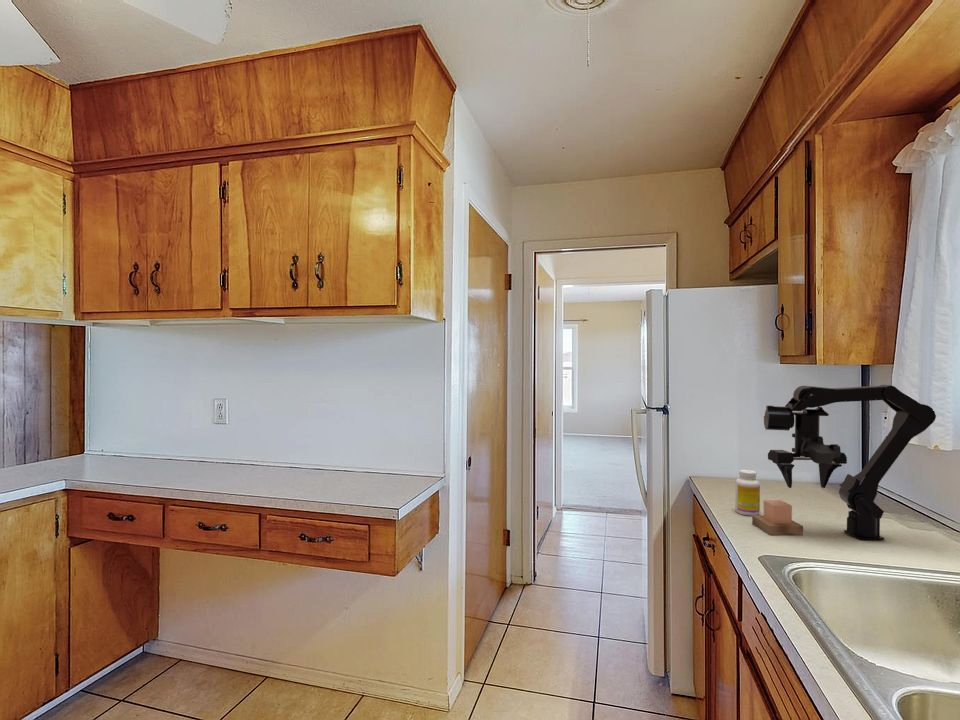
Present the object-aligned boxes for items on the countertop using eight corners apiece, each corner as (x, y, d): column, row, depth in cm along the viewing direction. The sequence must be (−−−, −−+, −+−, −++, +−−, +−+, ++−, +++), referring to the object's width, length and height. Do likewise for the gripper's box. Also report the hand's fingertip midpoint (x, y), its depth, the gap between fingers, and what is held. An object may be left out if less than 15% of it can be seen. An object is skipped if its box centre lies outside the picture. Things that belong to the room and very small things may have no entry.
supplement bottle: (762, 517, 155) (763, 474, 155) (738, 515, 157) (739, 473, 156) (755, 510, 162) (756, 469, 162) (732, 509, 163) (733, 468, 163)
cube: (781, 517, 147) (781, 500, 147) (791, 523, 142) (791, 505, 142) (763, 517, 147) (763, 500, 147) (773, 523, 142) (773, 505, 142)
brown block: (783, 524, 149) (783, 515, 149) (803, 535, 140) (803, 526, 140) (752, 524, 149) (752, 515, 149) (769, 535, 140) (769, 525, 140)
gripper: (790, 436, 135) (789, 495, 135) (862, 436, 135) (861, 495, 135) (767, 429, 146) (766, 484, 146) (833, 429, 146) (832, 485, 146)
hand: (806, 487), depth 143 cm, fingers open, 9 cm apart
